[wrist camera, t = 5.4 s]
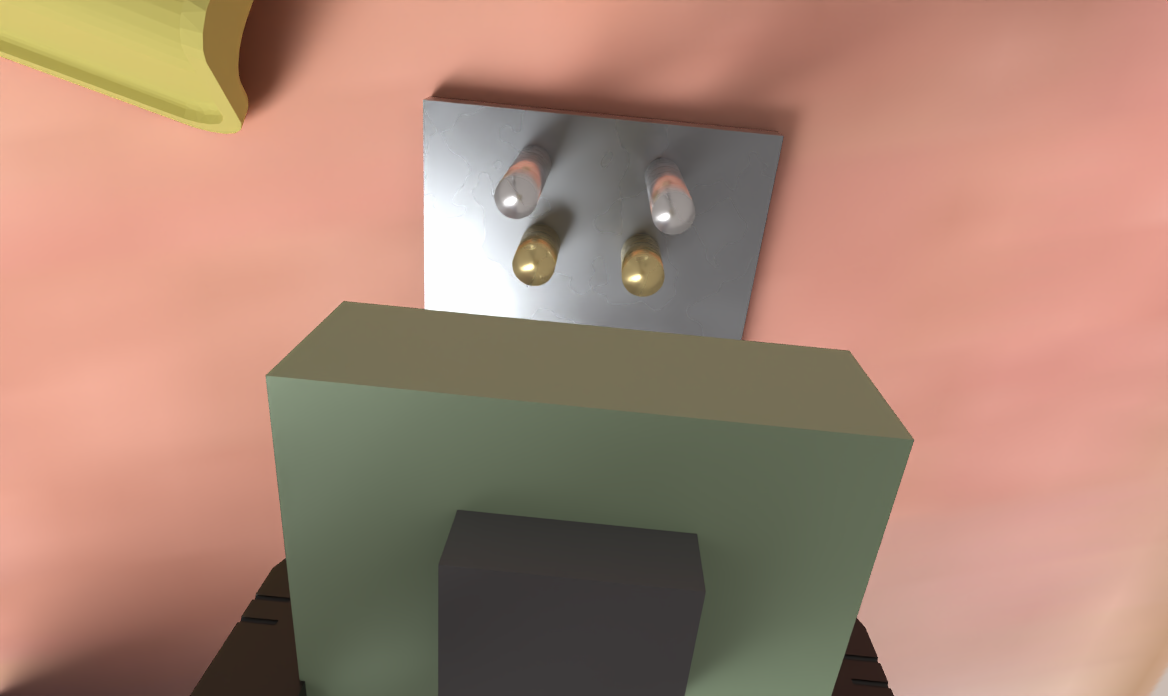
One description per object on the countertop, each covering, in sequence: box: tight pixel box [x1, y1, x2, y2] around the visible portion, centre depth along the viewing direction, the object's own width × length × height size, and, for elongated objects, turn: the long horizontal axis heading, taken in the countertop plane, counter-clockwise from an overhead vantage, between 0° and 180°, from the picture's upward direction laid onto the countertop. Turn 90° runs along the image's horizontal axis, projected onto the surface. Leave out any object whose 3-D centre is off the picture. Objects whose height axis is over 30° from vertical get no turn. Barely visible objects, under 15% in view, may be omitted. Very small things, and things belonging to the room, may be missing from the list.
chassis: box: [423, 97, 784, 340], centre depth 25 cm, size 16×12×6 cm
